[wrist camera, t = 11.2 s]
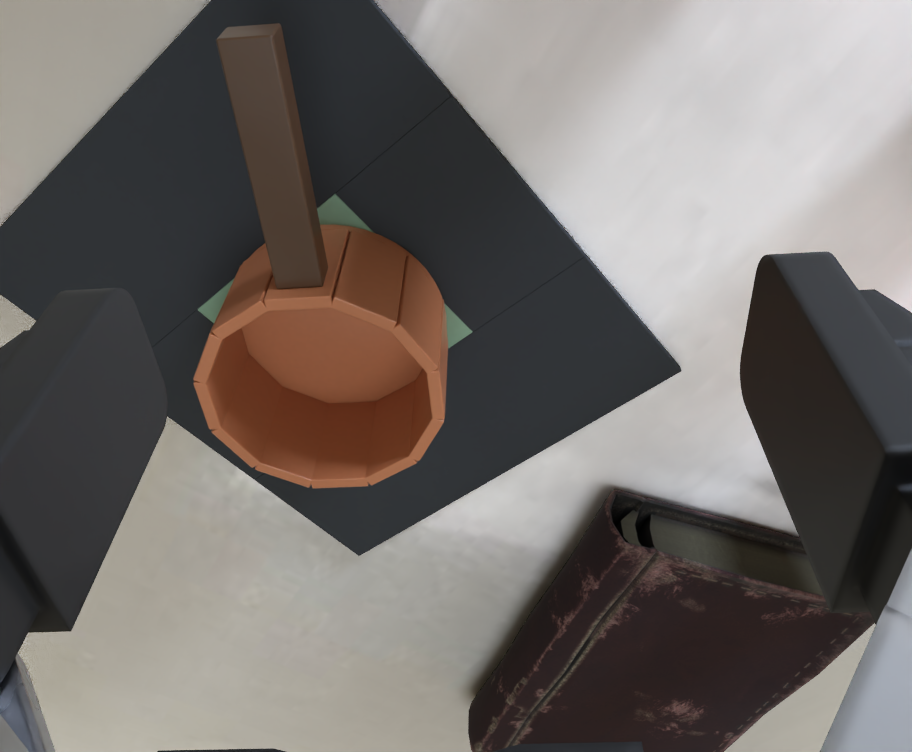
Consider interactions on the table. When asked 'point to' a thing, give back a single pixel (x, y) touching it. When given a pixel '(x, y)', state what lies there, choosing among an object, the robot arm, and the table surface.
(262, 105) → the saucepan
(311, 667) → the table surface
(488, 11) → the table surface
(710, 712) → the diary
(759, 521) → the table surface
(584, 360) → the placemat
